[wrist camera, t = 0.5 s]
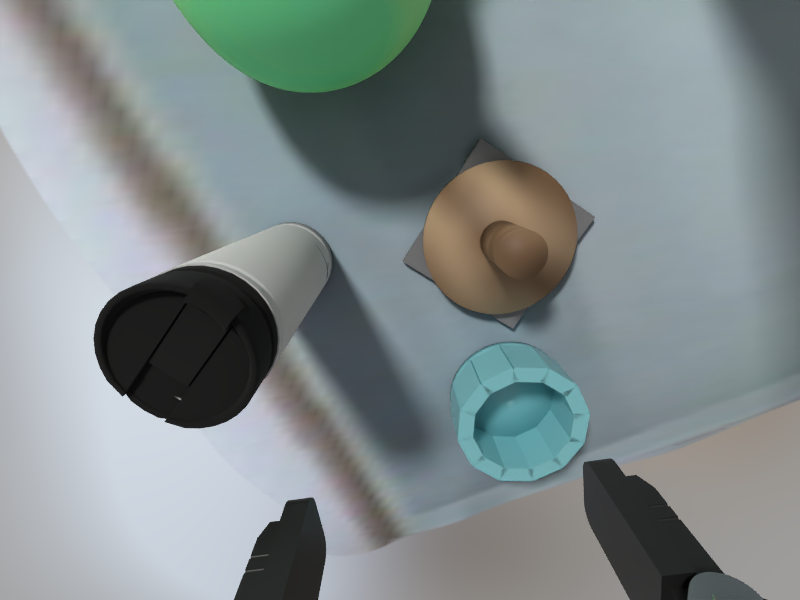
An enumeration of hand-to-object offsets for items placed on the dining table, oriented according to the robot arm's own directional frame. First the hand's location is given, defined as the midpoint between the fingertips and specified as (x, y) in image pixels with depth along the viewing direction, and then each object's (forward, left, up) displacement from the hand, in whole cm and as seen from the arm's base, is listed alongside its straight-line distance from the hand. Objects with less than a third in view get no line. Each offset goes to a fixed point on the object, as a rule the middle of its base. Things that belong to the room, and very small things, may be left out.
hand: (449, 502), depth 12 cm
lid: (-7, +3, -23) cm, 24 cm away
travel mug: (+3, -10, -24) cm, 26 cm away
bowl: (+4, +12, -24) cm, 27 cm away
